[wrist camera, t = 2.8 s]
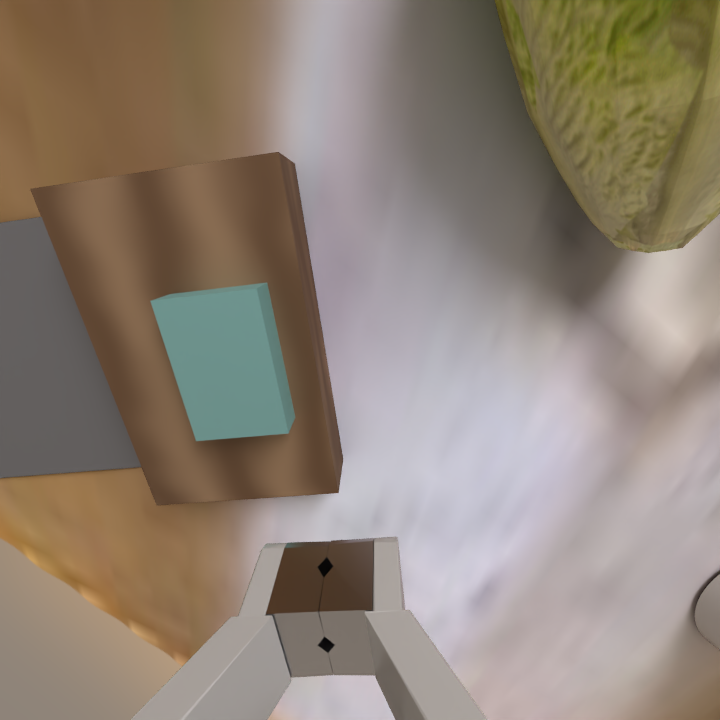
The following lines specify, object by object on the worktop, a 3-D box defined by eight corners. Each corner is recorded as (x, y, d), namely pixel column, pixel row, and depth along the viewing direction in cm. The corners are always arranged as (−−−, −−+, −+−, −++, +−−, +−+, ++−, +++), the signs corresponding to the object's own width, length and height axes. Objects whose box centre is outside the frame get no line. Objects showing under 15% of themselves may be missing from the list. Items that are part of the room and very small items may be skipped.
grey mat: (76, 212, 24) (73, 212, 24) (168, 462, 31) (166, 464, 31) (-136, 242, 25) (-141, 242, 25) (-2, 476, 32) (-5, 478, 32)
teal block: (267, 282, 21) (256, 288, 19) (295, 417, 24) (288, 433, 22) (169, 294, 22) (150, 301, 20) (209, 424, 25) (196, 441, 23)
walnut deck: (294, 163, 22) (278, 151, 19) (343, 459, 30) (338, 492, 26) (84, 194, 24) (30, 188, 20) (182, 471, 31) (156, 505, 28)
